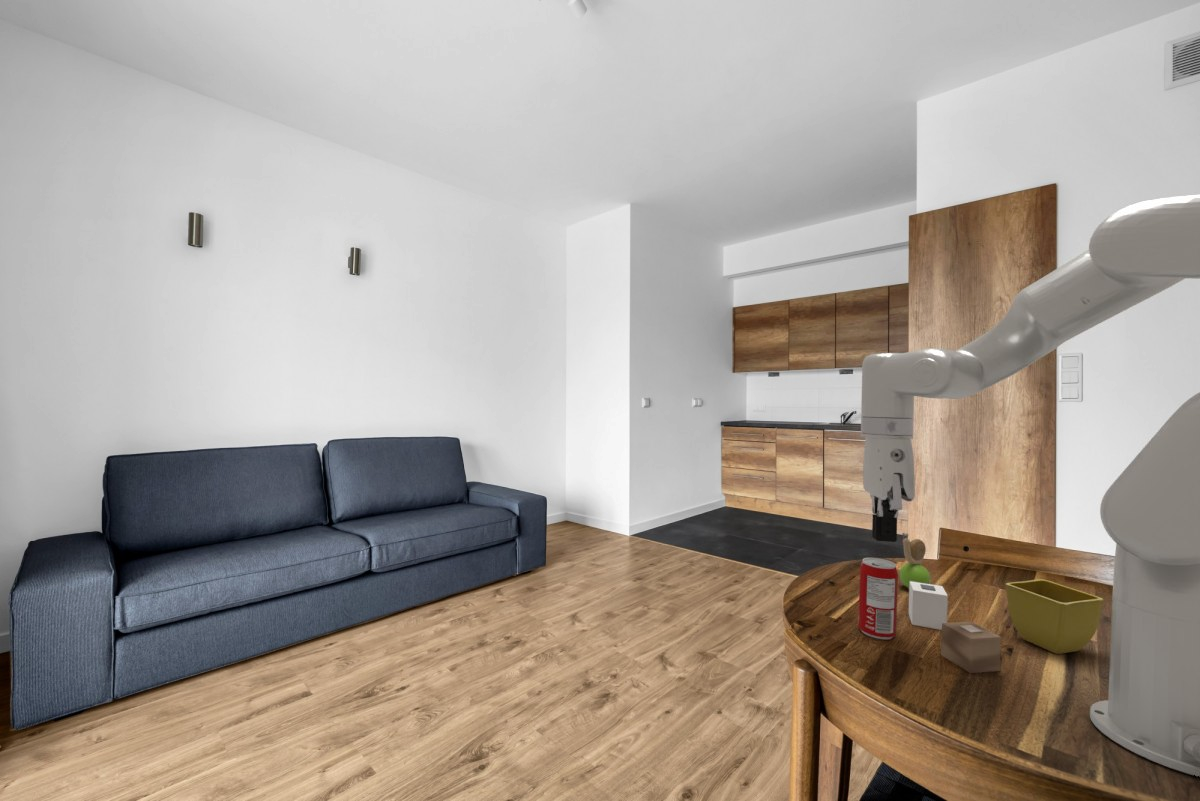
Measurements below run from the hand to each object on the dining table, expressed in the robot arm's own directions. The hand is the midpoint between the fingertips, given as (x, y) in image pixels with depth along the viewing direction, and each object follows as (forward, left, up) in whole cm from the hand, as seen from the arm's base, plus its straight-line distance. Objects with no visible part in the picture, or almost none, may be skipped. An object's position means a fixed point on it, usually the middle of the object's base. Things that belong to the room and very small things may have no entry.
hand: (884, 539), depth 84 cm
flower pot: (+2, -26, -16) cm, 30 cm away
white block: (+7, -10, -16) cm, 20 cm away
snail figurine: (+23, -14, -16) cm, 31 cm away
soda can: (0, +1, -16) cm, 16 cm away
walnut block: (-7, -10, -16) cm, 20 cm away
